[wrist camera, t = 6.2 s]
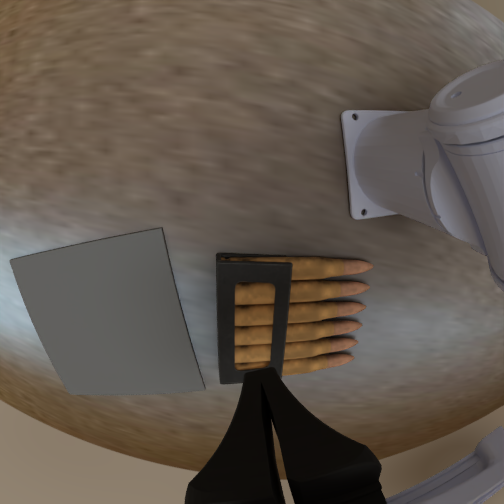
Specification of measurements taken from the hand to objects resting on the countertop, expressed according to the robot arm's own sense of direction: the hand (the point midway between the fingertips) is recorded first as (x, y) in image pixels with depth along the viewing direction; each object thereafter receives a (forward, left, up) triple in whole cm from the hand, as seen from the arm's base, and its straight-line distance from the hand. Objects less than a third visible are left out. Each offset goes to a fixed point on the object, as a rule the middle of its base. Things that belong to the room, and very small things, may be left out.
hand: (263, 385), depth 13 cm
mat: (+13, +2, -10) cm, 16 cm away
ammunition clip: (+3, +2, -9) cm, 10 cm away
